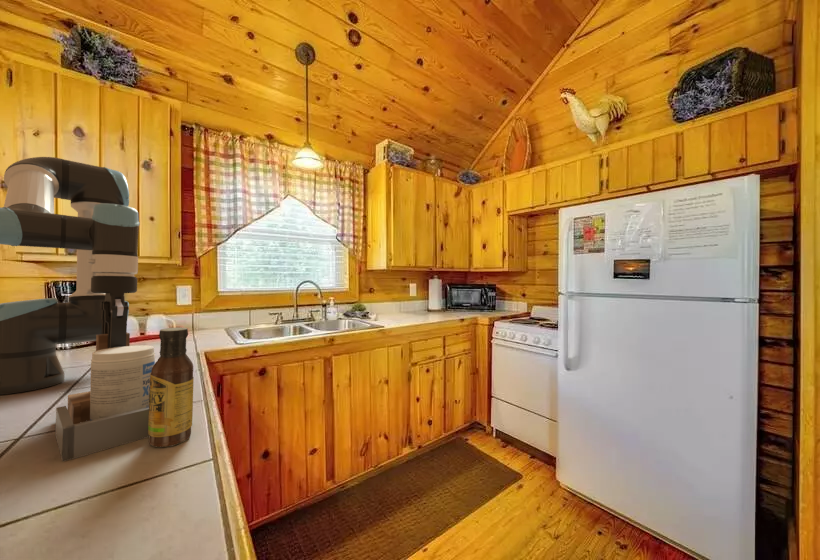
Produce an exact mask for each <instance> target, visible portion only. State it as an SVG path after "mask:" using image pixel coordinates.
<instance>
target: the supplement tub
mask: <svg viewBox="0 0 820 560" xmlns="http://www.w3.org/2000/svg"><path fill="white" fill-rule="evenodd" d="M155 354H156V353H155V347H154V346H153V345H145V344H144V345H140V344H139V345H129V346H124V347H115V348H108V349H102V350H98V351H96V350H95V351H93V352H92V356H91V359H90V390H89V391H90V421H91V420H96V419H100V418H105V417H109V416H113V415H118V414H122V413H126V412H131V411H135V410H139V409H144V408H148V407H149V393H150V374H151V371H152V368H153V366H154V364H155V363H156V356H155Z"/></svg>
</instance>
